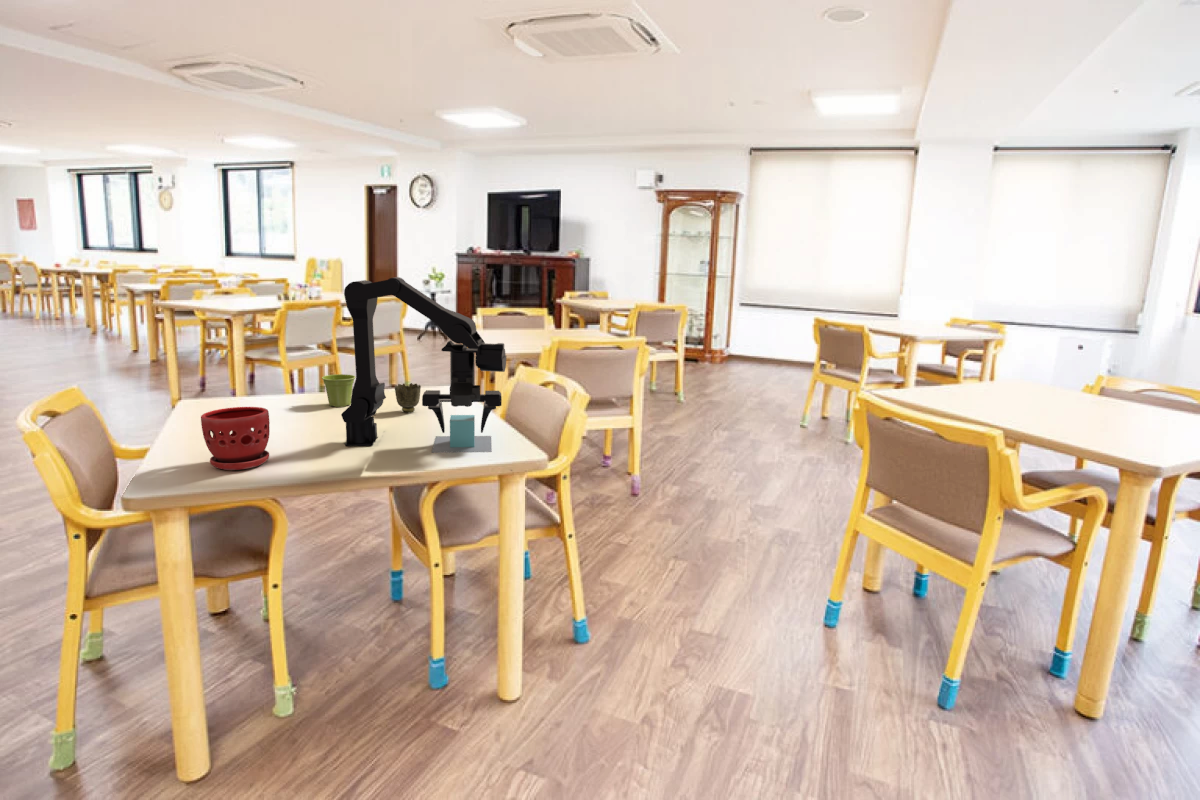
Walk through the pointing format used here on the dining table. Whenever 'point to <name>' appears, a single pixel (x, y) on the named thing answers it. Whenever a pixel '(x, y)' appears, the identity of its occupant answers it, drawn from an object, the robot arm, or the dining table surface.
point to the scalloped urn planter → (407, 396)
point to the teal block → (462, 430)
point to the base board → (479, 446)
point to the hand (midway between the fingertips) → (462, 432)
